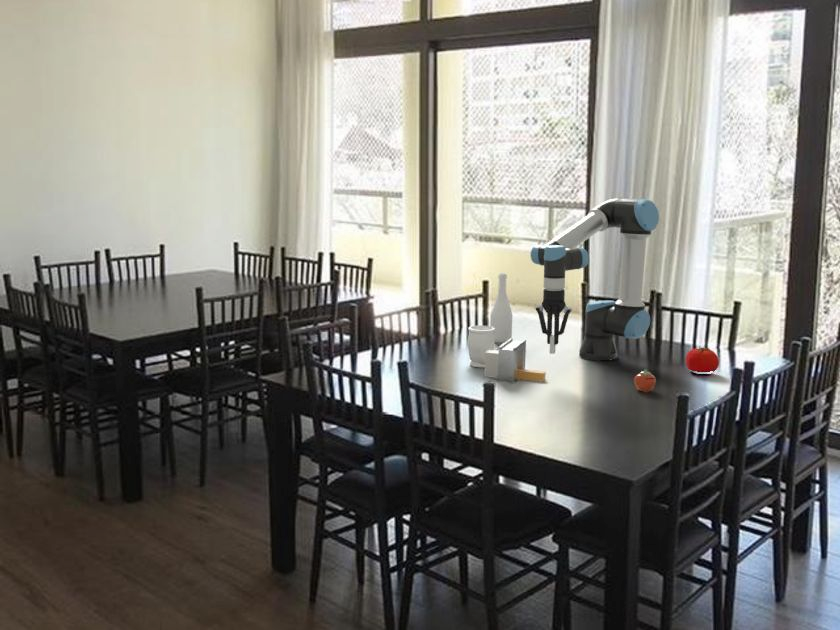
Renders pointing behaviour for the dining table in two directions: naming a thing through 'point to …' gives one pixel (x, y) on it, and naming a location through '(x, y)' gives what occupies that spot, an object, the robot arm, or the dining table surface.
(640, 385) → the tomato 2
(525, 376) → the plug
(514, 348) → the box
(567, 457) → the dining table surface
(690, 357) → the tomato
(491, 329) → the jar
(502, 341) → the wine bottle
